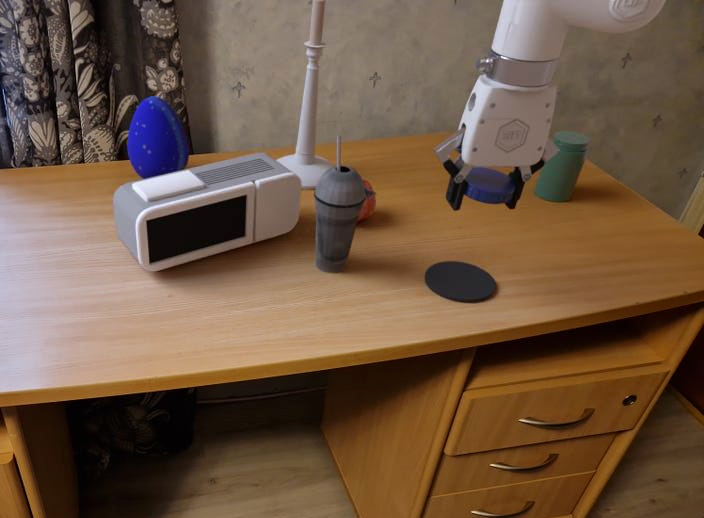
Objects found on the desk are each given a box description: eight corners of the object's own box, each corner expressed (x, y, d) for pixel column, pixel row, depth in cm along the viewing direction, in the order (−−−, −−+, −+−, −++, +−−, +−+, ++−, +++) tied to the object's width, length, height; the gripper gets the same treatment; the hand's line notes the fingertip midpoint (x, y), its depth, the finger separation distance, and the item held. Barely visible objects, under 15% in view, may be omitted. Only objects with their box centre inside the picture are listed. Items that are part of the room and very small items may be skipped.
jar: (554, 183, 124) (574, 127, 118) (578, 199, 120) (600, 142, 113) (525, 188, 123) (543, 132, 116) (549, 204, 118) (569, 147, 111)
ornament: (197, 180, 124) (196, 97, 114) (162, 198, 119) (157, 112, 109) (154, 163, 129) (149, 82, 119) (119, 179, 124) (111, 96, 114)
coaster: (479, 263, 104) (480, 259, 103) (505, 301, 96) (506, 298, 96) (416, 265, 103) (416, 261, 103) (436, 304, 95) (437, 300, 95)
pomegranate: (320, 230, 115) (355, 218, 106) (312, 187, 114) (347, 172, 105) (355, 225, 118) (392, 213, 109) (348, 183, 118) (385, 167, 109)
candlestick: (316, 154, 133) (333, -17, 113) (351, 182, 124) (376, 1, 104) (257, 165, 129) (265, -10, 109) (289, 194, 120) (303, 9, 100)
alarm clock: (142, 282, 99) (136, 208, 91) (117, 252, 105) (110, 181, 97) (297, 236, 109) (304, 166, 101) (267, 211, 115) (271, 144, 107)
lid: (447, 180, 91) (451, 169, 90) (491, 176, 93) (495, 165, 92) (477, 207, 86) (481, 195, 85) (522, 201, 88) (527, 190, 87)
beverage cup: (342, 283, 99) (361, 152, 86) (298, 268, 102) (310, 140, 89) (362, 260, 104) (383, 133, 91) (319, 247, 107) (334, 122, 94)
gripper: (459, 80, 76) (425, 220, 88) (606, 78, 77) (554, 217, 89) (438, 58, 82) (409, 193, 94) (575, 57, 83) (530, 191, 95)
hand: (480, 204), depth 91 cm, fingers closed on lid, 6 cm apart
